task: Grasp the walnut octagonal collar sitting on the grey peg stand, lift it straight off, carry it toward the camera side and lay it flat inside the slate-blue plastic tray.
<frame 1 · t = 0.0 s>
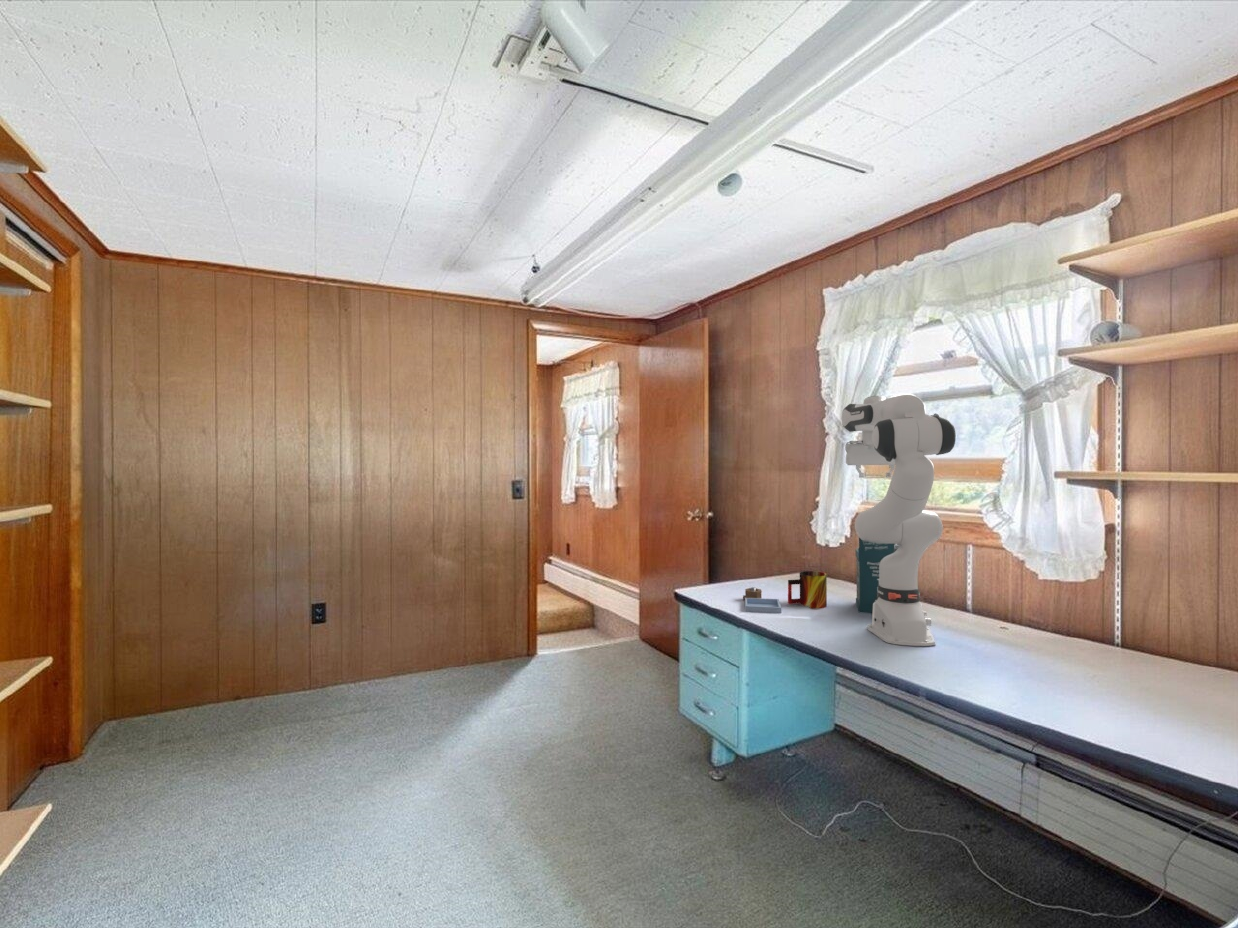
hand: (875, 477, 215), 48 cm above the table, fingers open, 8 cm apart
tray: (762, 609, 213), on the table
grey peg stand: (753, 601, 224), on the table
donation box: (880, 608, 213), on the table
ring: (753, 600, 224), point 1 cm above the table, touching grey peg stand
mug: (809, 606, 217), on the table
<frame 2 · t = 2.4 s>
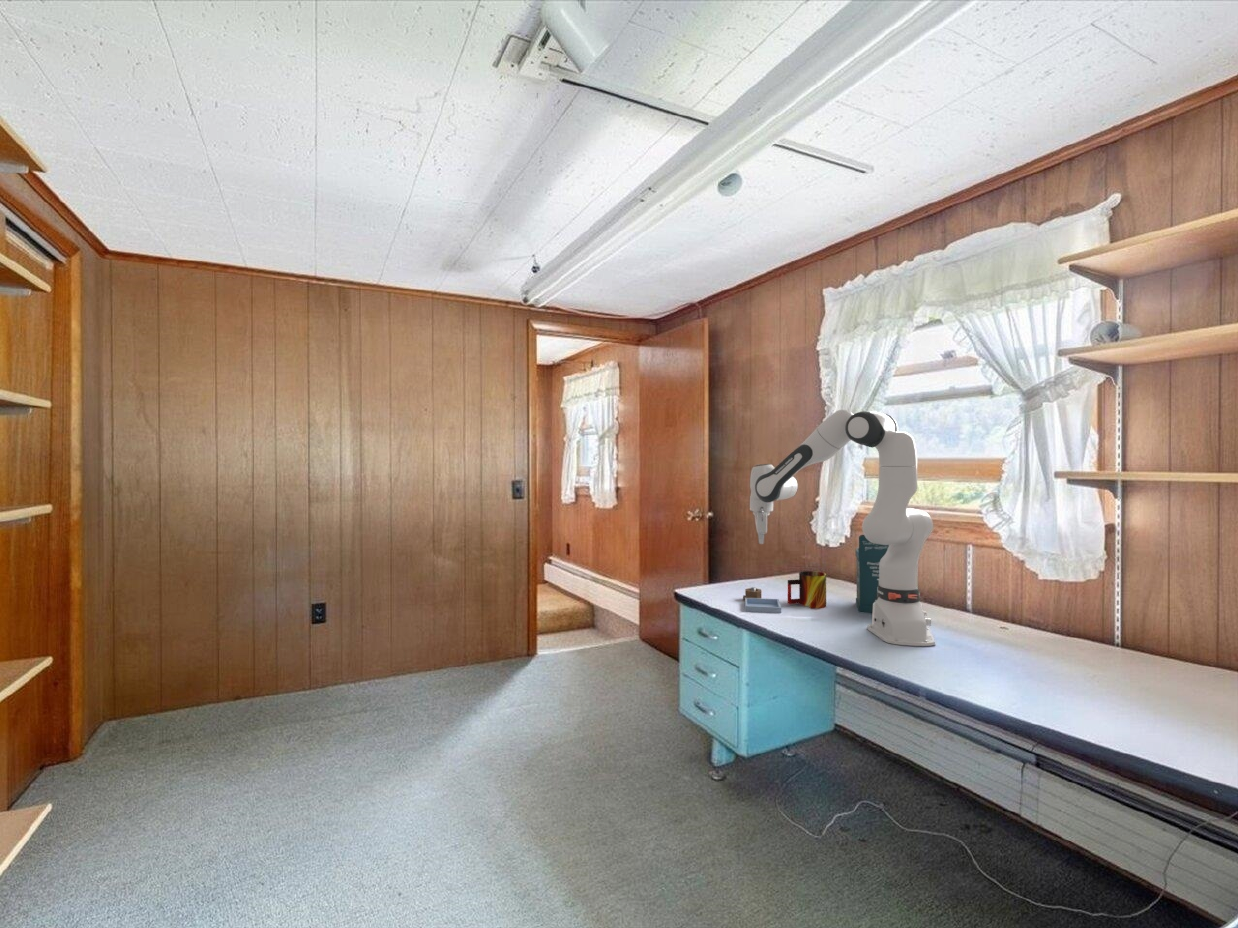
hand: (760, 541, 223), 23 cm above the table, fingers open, 8 cm apart
nothing on the table moved.
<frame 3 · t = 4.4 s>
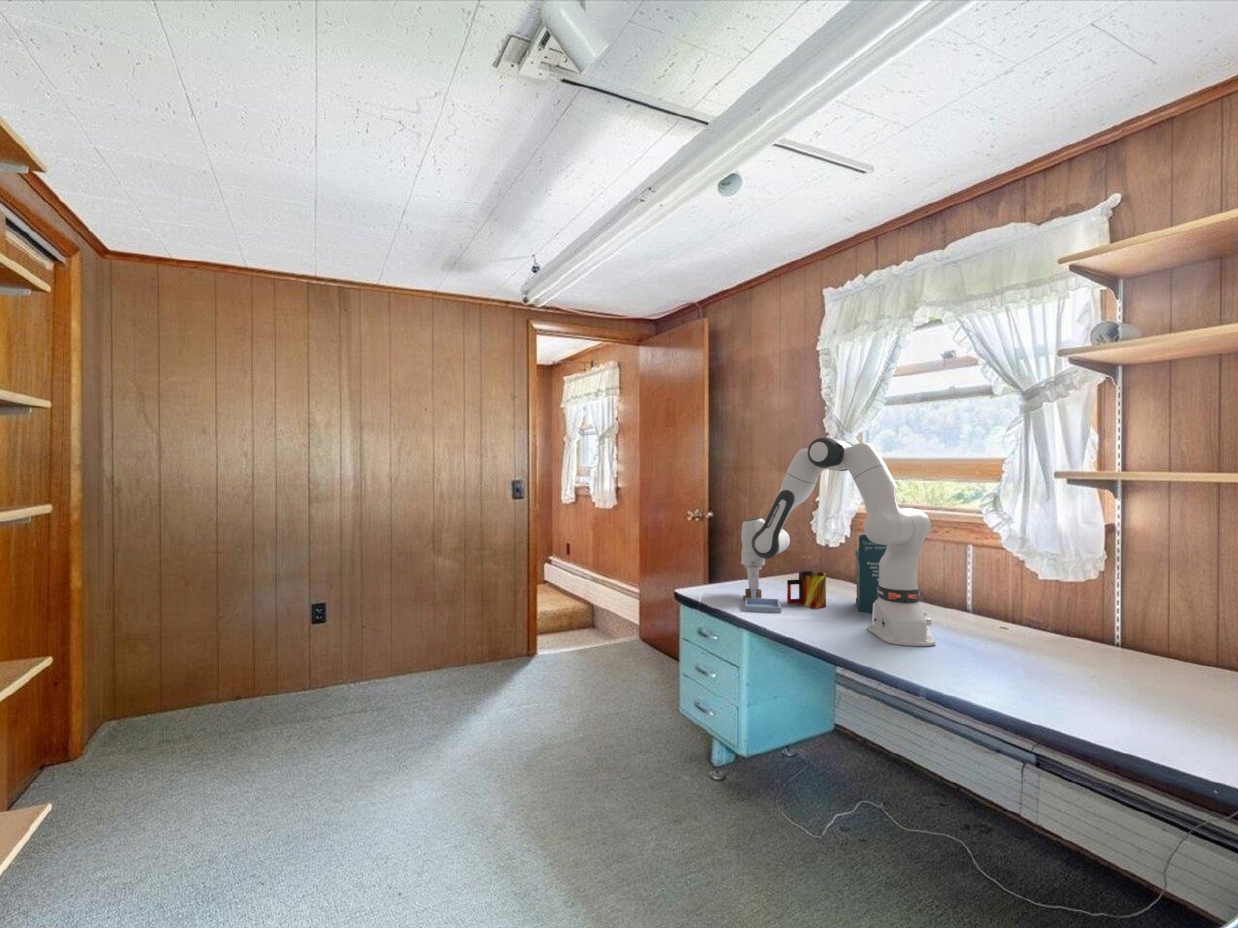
hand: (753, 595, 224), 3 cm above the table, fingers open, 8 cm apart
nothing on the table moved.
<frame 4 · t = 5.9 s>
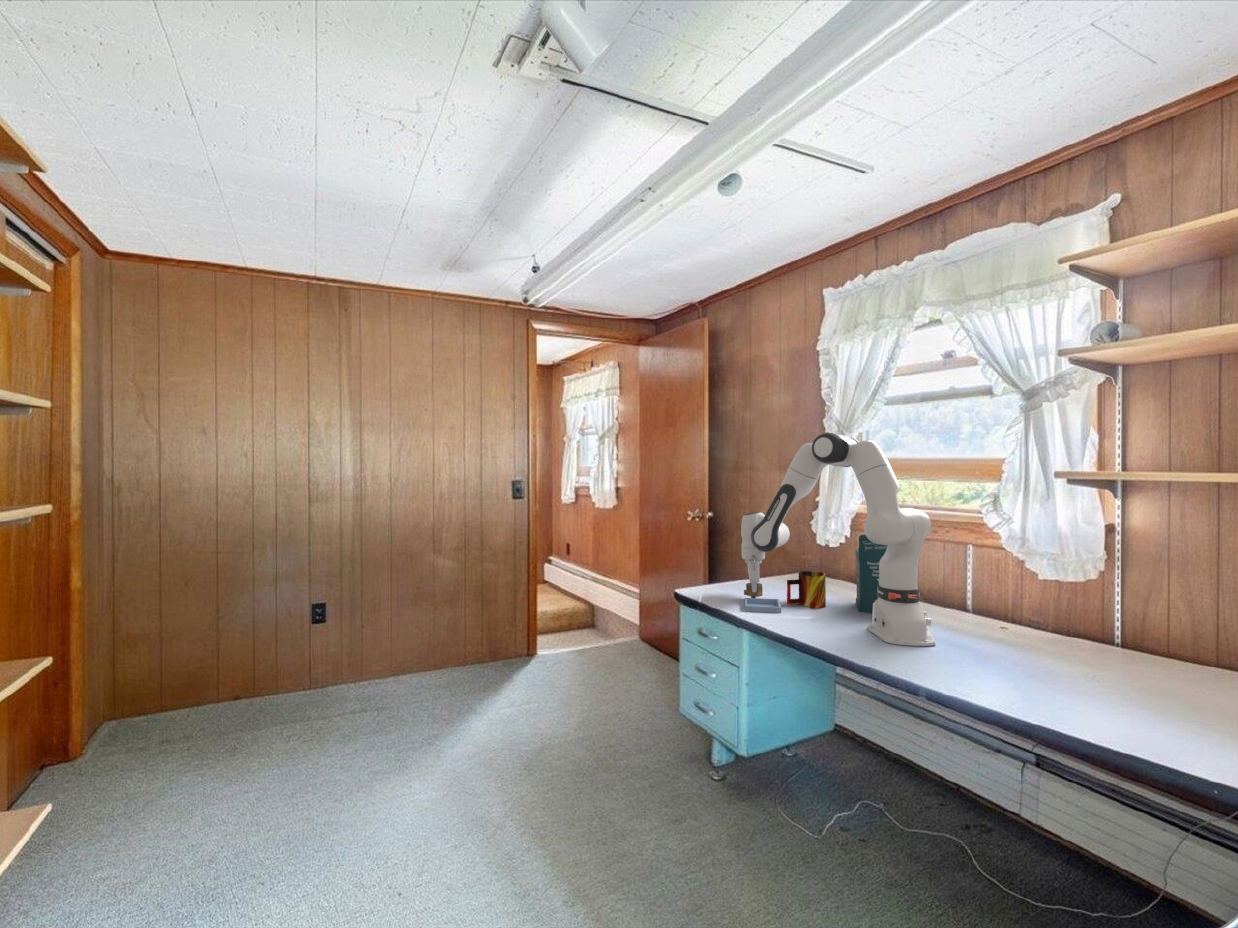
hand: (753, 589, 224), 5 cm above the table, fingers closed on ring, 6 cm apart
ring: (754, 594, 224), point 3 cm above the table, touching gripper
everything else where it was.
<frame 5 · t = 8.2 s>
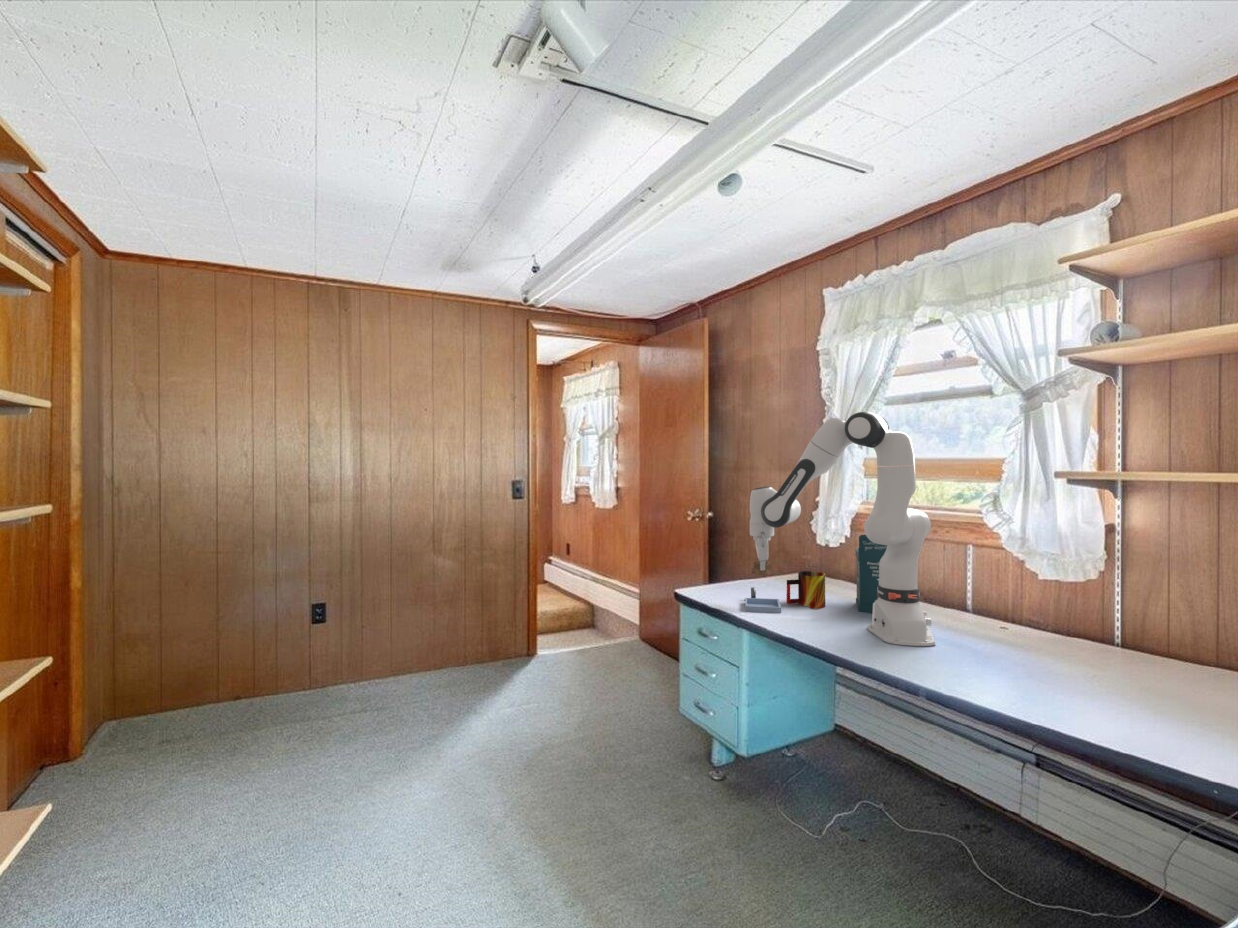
hand: (762, 568, 213), 15 cm above the table, fingers closed on ring, 6 cm apart
ring: (762, 573, 213), point 13 cm above the table, touching gripper
everything else where it was.
when the fingers open (4 cm above the table, at t = 10.6 s): ring drops 1 cm, resting on tray.
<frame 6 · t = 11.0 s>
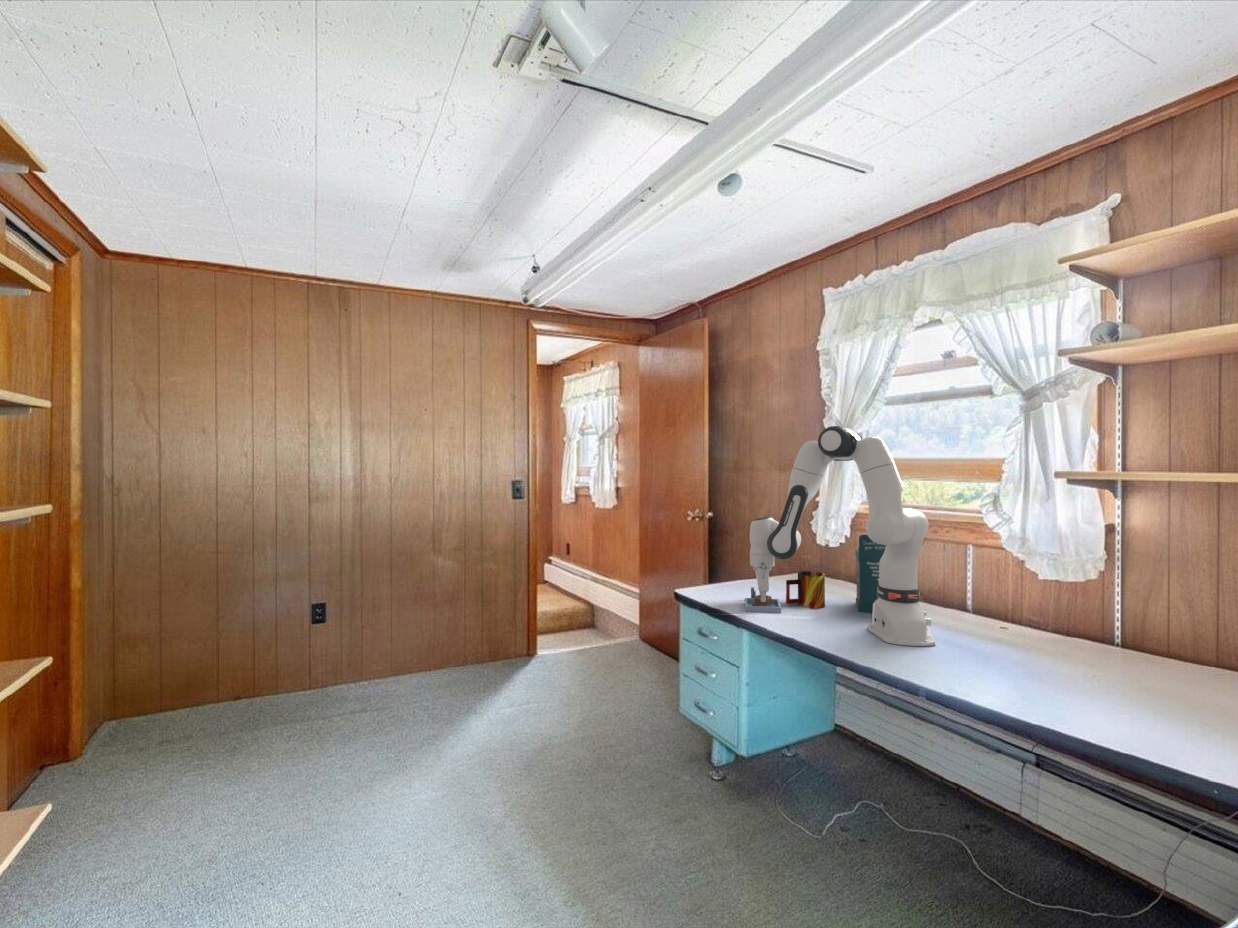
hand: (762, 598, 213), 4 cm above the table, fingers open, 8 cm apart
ring: (763, 607, 213), point 1 cm above the table, touching tray
everything else where it was.
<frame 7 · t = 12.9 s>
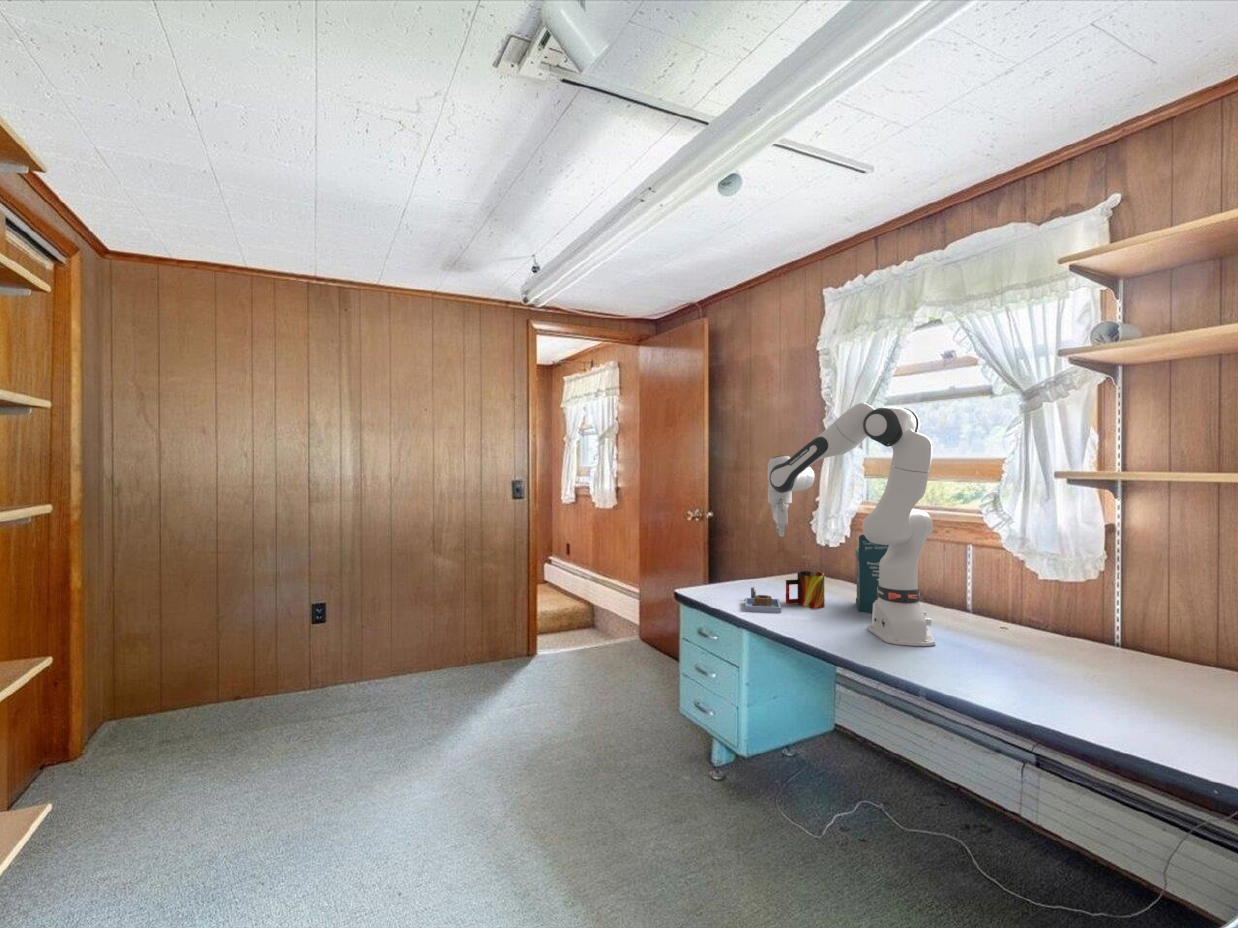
hand: (780, 534, 220), 26 cm above the table, fingers open, 8 cm apart
nothing on the table moved.
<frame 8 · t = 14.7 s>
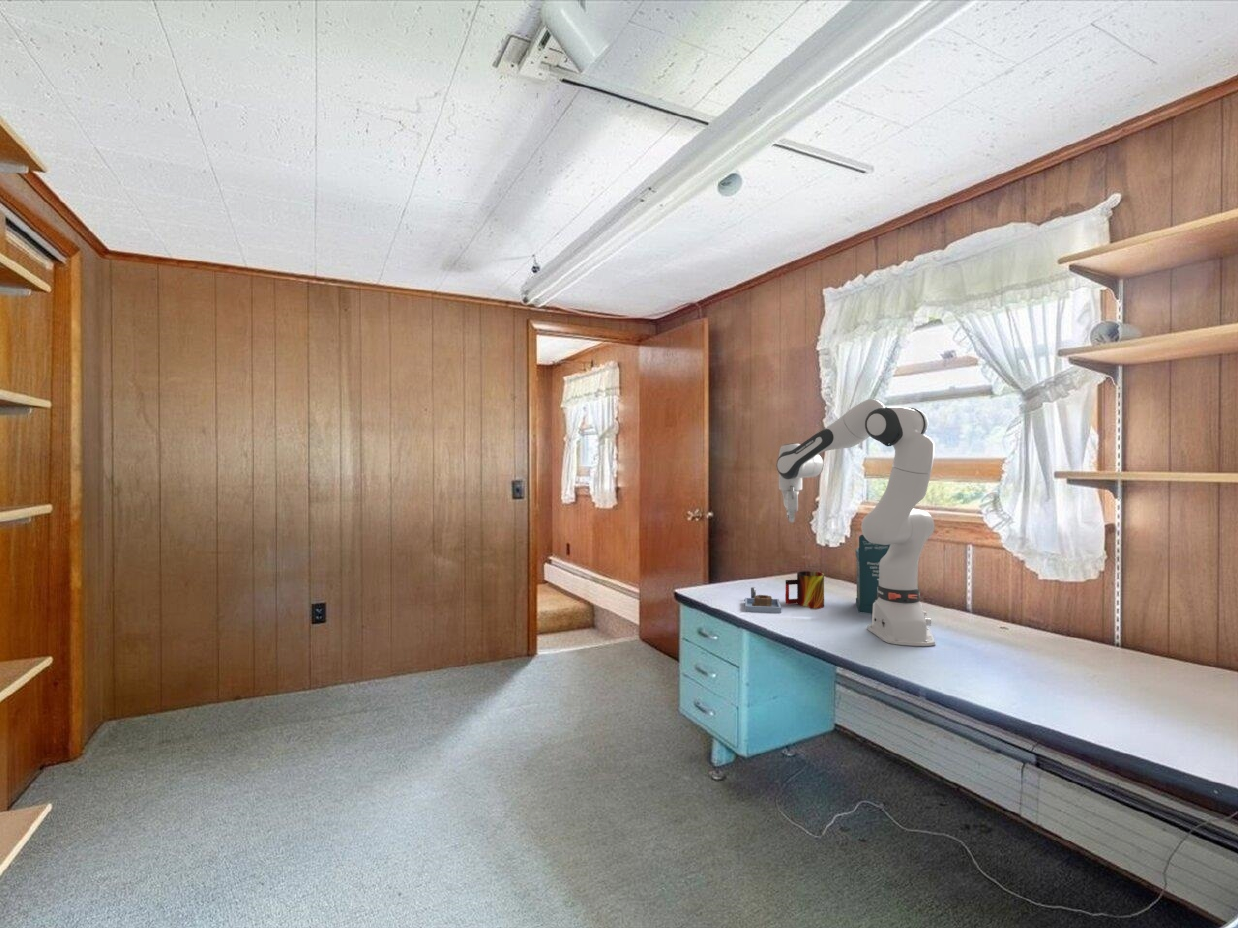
hand: (790, 520, 225), 31 cm above the table, fingers open, 8 cm apart
at the end: ring inside the target area on the tray (0.1 cm from its centre), point 0.6 cm above the tray's base; ring tilted 0°; the gripper is holding nothing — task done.
